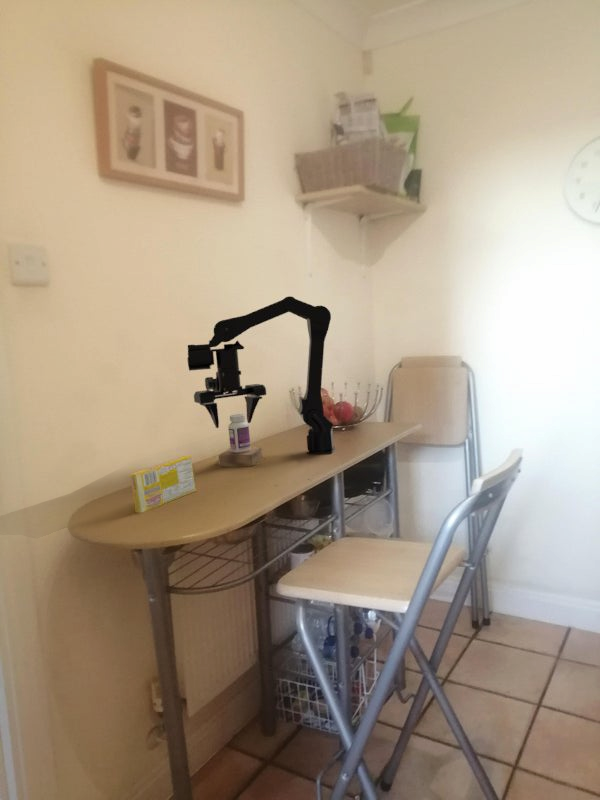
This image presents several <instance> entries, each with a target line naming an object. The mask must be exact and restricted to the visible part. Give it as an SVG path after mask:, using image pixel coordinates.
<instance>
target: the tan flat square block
mask: <svg viewBox="0 0 600 800" xmlns="http://www.w3.org/2000/svg"><path fill="white" fill-rule="evenodd" d="M261 459H263V449H262V446H251V449H250V450H249V451H247V452H242V453H233V452H231V448H230V447H229V448H228V449H226V450H225V451H223V452H221V453H220V454H218V461H219V467H223V468H224V467H225V468H226V467H253V466H255V465H256V464H257V463H258V462H259V461H261Z"/></svg>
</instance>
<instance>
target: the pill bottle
mask: <svg viewBox="0 0 600 800" xmlns="http://www.w3.org/2000/svg"><path fill="white" fill-rule="evenodd" d="M229 421H230V422H231V423H229V425H228V429H227V430H228V436H229V448H231V452H233V453H242V452H247V451H249V450H250V449H251V447H252V446H251V439H250V438H251V437H250V436H251V435H250V427H249V426H250V425H249V423H248V421H246V415H245V414H244V413H241V414H240V413H239V414H232V415H230V416H229Z"/></svg>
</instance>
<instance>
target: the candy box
mask: <svg viewBox="0 0 600 800" xmlns="http://www.w3.org/2000/svg"><path fill="white" fill-rule="evenodd" d="M129 475H130V481H131V489H132V496H133V504H134V509H135V510H134V511H135V513H139V514H142V513H144V512H147V511H150V510H152V509H155V508H157V507H159V506H161V505H166V504H168V503H169V502H172V501H175V500H177V499H179V498H183V497H184V496H187V495H190V494H192V493H195V492H197V491H196V484H195V477H194V476H195V475H194V470H193V462H192V456H191V455H185V456H182V457H178V458H176V459H172V460H171V461H167V462H163V463H162V464H158V465H155V466H151V467H149V468H145V469H143V470H140V471H136V472H133V473H131V474H129Z"/></svg>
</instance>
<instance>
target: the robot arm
mask: <svg viewBox="0 0 600 800" xmlns="http://www.w3.org/2000/svg"><path fill="white" fill-rule="evenodd" d="M288 313H290V314H293V315H295V316H298V317H300V318H302V319H305V320H306V324H307V325H306V326H307V333H308V338H309V345H308V358H307V359H308V361H307V374H306V375H307V376H306V390H305V393H304V396H303V397H302V396H299V397H298V401H299V408H298V410H297V412H298V413H299V415H300V417H301V419H302V421H303V422H304V423H305V424H306V425H307V426H308V427H310V428H309V429H308V430H307V433H308V434H307V435H306V444H307V451H308V452H307V454H309V455H311V454H313V455H314V454H316V455H317V454H318V455H319V454H333V452H334V451H335V449H336V446H334V432H333V430H334V429H333V422H332V421H331V420H330V419H329V418H328V417H326V416H325V411H324V403H323V398H322V377H323V367H324V366H323V364H324V351H325V350H324V349H325V341H326V337H327V334H328V332H329V327H330V323H331V318H332V314H331V311H330V309H328V308H327V307H326V306H324V305H316V306H315V305H312V304H309V303H307V302H305V301H302V300H299V299H296V298H295V297H294V296H290V295H289V296H286V297H284V298H283V299H281V300H279V301H277V302H274V303H272V304H269V305H267V306H264V307H262V308H260V309H257V310H254V311H252V312H250V313H247V314H244V315H240V316H237V317H230V318H228V319H222V320H218V322H216V323H215V325H214V327H213V336H212V337H211V340H209V341H208V343H207V344H206V343H205V344H188V345H187V366H188V370H189V372H190V371H198V370H199V371H200V370H201V371H202V370H211V367H212V366H214V365H215V361H216V368H217V371H215V372H216V373H215V375H216V376H215V378H214V377H213V376H209V377H205V378H204V385H205V389H206V390H199V391H198V390H197V391H195V392H194V394H193V401H194V403H197V404H199V405H200V406H203V407H205V409H206V410H207V412H208V413H209V416H210V418H211V420H212V422H213V425H214V426H215V428H216V429H219V427H220V426H219V425H220V422H219V421H220V420H219V412H218V403H217V402H215V400H217V399H224V398H231V397H232V398H233V397H240V396H244V399H245V403H246V405H245V406H246V422H247V423H248V424H250V423H251V422H252V420H253V416H254V413H255V411H256V407H257V405H258V404H259V401H260V400H263V396H266V395H267V388H266V386H265V385H264V384H260V383H254V384H247V385H246V384H245V385H244V388H243V385H241V378H240V377H241V375H242V371H241V370H240V365H239V353H238V351H239V350H244V349H245V346H243V345H242V344H241V343H240V341H239V340H236V342H234V343H229V342H230V341H232V340H234V339H235V338H237V337H238V336H240V335H242V334H243V333H245V332H246V331H247V330H249V329H251V328H253V327H256V326H258V325H260V324H263V323H266V322H267V321H270V320H272V319H274V318H277V317H279V316H282V315H284V314H288ZM221 343H224V344H223V348H216V347H217V346H219V345H220V344H221ZM212 348H213V349H212ZM214 352H215V355H214ZM214 356H216V357H214ZM215 358H216V359H215Z"/></svg>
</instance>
